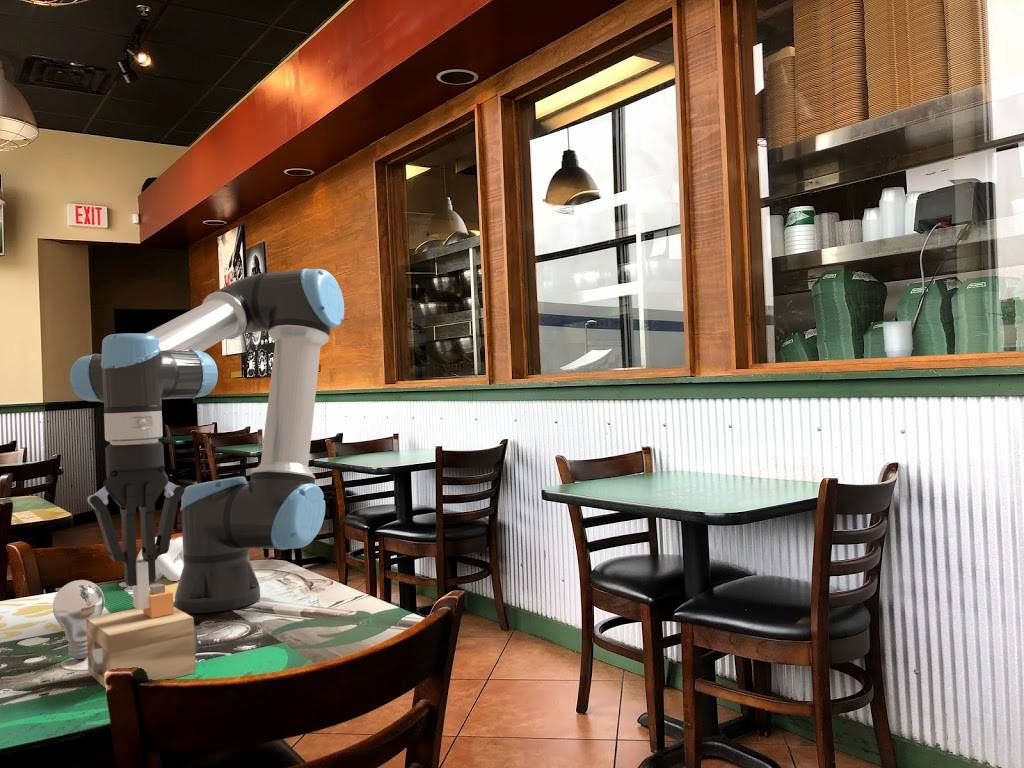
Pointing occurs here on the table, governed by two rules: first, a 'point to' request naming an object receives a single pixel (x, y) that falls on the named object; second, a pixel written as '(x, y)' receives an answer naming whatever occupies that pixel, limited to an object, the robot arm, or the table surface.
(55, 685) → the table surface
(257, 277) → the robot arm
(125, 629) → the block
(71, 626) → the light bulb
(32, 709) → the table surface
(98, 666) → the pin
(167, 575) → the white knot sculpture
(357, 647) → the table surface
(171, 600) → the bar
